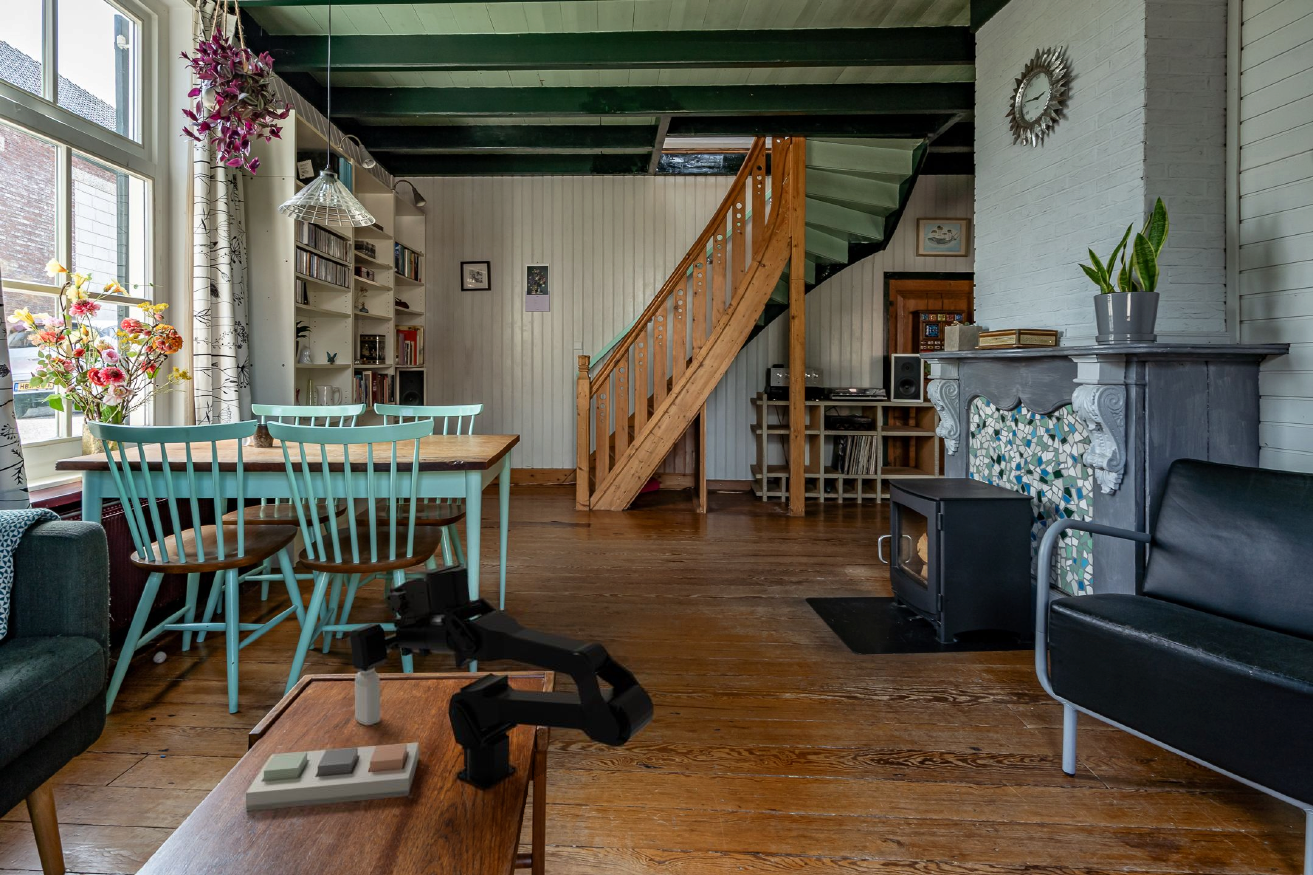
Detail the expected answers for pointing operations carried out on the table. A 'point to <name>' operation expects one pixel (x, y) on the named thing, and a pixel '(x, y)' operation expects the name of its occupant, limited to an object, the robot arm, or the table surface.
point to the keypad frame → (333, 783)
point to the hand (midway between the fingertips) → (372, 631)
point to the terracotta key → (388, 757)
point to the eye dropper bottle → (367, 697)
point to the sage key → (286, 766)
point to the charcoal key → (338, 762)
